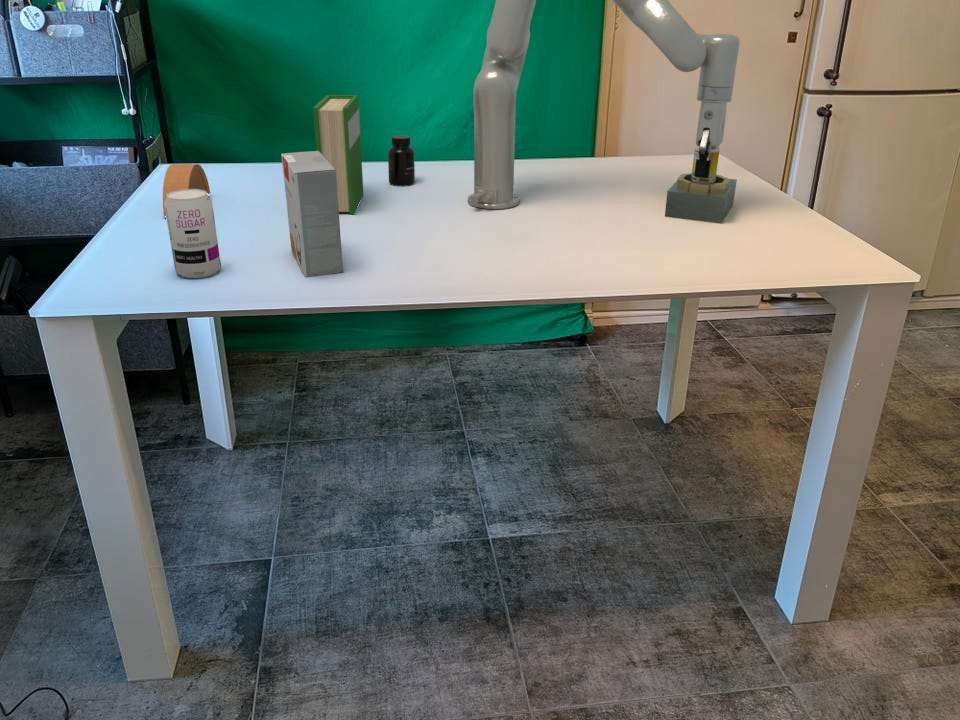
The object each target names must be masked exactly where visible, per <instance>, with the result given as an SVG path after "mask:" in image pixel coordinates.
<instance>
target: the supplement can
mask: <svg viewBox="0 0 960 720" xmlns="http://www.w3.org/2000/svg"><path fill="white" fill-rule="evenodd" d="M166 196H167V197H166V200H165V203H164V206H165V212H166V218H167V219H166V223H167V230H168V234H169V235H168V236H169V241H170V247H171V252H172V259H173V264H174V265H173V266H174V271H175V273H176V274H178V275H179V276H180V275H181V276H180V277H182V278H184V277H186V279H191V278H194V280H195V279H204V278H208V277H209V278H210V277H212V276H214V275H216V274H217V273H218V272H219V271H220V269H221V267H222V264H221V257H220V248H219V242H218V235H217V229H216V228H217V227H216V221H215V214H214V206H213V201H212V199H211V198H210V197H211V196H208V195H207V192H206V191H204V190H200V189H183V190H177V191H173V192H170V193H168V194H167V195H166Z"/></svg>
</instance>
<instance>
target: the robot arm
mask: <svg viewBox="0 0 960 720" xmlns="http://www.w3.org/2000/svg"><path fill="white" fill-rule="evenodd" d="M612 1H613V2H614V4H615V5H616V6H617V7H618V8H619V9H620V11H621V12H622V13H623V14H624V15H625V16H626V17H627V18H628V19H629V21H630V22H631V23H632V24H633V25H635V27H637V28H638V29H639V30H641V31H642V32H643V33H644V34H645V35H646V37H647V38H649V39H650V41H652V43H653V44H654V45H655V46H656V47H657V48H658V49H659V51H660V52H661V53H662V54H663V55H664V57H666V58H667V60H668V62H670V63H671V64H672V66H673V67H674V68H675V70H678V71H680V72H682V73H690V72H691V73H692V72H693V71H696V70H698V69H699V68H700V71H699V79H698V86H697V95H696V100H697V101H698V102H701V103H700V109H699V116H698V122H697V129H696V130H697V131H696V138H695V146H699V149H698V155H697V159H696V166H695V173H694V176H695V177H701V178H708V177H709V170H710V163H711V160H710V155H711V150H712V146H714V148H717V147H719V146H720V145H721V144H722V143H723V141H724V133H725V125H726V117H727V107H728V105H727V104H728V103H731V102H732V99H733V98H732V97H733V89H734V83H735V77H736V69H737V63H738V57H739V51H740V39H739V37H738V36H737V35H734V34H727V33H713V34H712V33H711V34H704V33H697V32H696V31H695V30H694V29H693V27H691V25H689V23H688V22H687V21H686V19H685V18H683V16H682V15H681V14H680V13H679V11H677V9H676V7H674V6H673V5H672V4H671V2H670V1H669V0H612ZM536 2H537V0H495V2H494V3H495V4H494V8H493V12H492V16H491V19H490V23H489V26H488V29H487V33H486V47H485V51H484V55H483V60H482V65H481V69H480V72H479V73H478V74H477V76H476V78H475V81H474V85H473V91H472V93H473V94H472V95H473V98H472V99H473V101H472V102H473V116H474V117H473V118H474V119H473V121H474V125H473V127H474V130H473V131H474V132H473V133H474V137H473V138H474V139H473V141H474V149H473V150H474V153H473V154H474V158H473V159H474V160H473V161H474V162H473V163H474V167H473V171H474V172H473V173H474V174H473V181H474V182H473V183H474V184H473V185H474V186H473V193H472V194H470V195H468V196H467V203H468V204H469V205H470V206H472V207H476V208H479V209H485V210H486V209H487V210H488V209H489V210H503V209H508V208H513V207H516V206H518V205H519V204H520V201H521V199H520V196H518V195H517V194H516V193H515V194H514V183H515V181H514V180H515V179H514V177H515V149H516V148H515V147H516V146H515V145H516V142H515V141H516V139H515V138H516V135H515V134H516V102H517V101H516V99H517V91H518V88H519V84H520V79H521V75H522V71H523V68H524V67H523V66H524V63H525V59H526V55H527V51H528V48H529V43H530V38H531V32H530V27H531V21H532V18H533V13H534V10H535V6H536ZM699 140H700V141H699ZM707 144H710V146H707ZM706 149H709V150H708V151H707V150H706Z"/></svg>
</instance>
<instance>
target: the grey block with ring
mask: <svg viewBox="0 0 960 720" xmlns="http://www.w3.org/2000/svg"><path fill="white" fill-rule="evenodd" d="M691 176H692V172H690V173H689V172H687V173H682V174H680V175H679V176H678V177H677V180H676V181H675V182H674V183H673V184H672V185H671V187H670V188H669V189H668V190H667V193H666V201H665V209H664V217H665V218H672V219H673V218H674V219H681V220H689V221H696V222H697V221H698V222H707V223H714V224H720V225H721V224H723V223H724V221H725V219H726V217H727V216H728V214H729V212H730V211H731V209H732V207H733V205H734V202H735V196H736V195H735V194H736V189H737V188H736V187H737V182H738V180H737V179H736V178H729V177H726V176H723V175H720V174H717V173H716V179H715V182H714V183H712V184H703V183H694V182H693V181H692V180H691Z"/></svg>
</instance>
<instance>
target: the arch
mask: <svg viewBox="0 0 960 720" xmlns="http://www.w3.org/2000/svg"><path fill="white" fill-rule="evenodd" d="M207 177H208V176H207V175H206V173H205V169H203V167H202V165H201V164H199V163H171V164H170V165H169V166H168V167H167V169H166V172H165V174H164V178H163V182H162V183H163V184H162V185H163V186H162V209H163V217H164V216H166V212H165V206H164V203H165V200H166V197H167V196H166V195H167V194H168V193H170V192H173V191H177V190H183V189H200V190H204V191H206V192H207V193H208V194H209V193H210V194H211V189H210V184H209V180H208V178H207Z"/></svg>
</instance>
